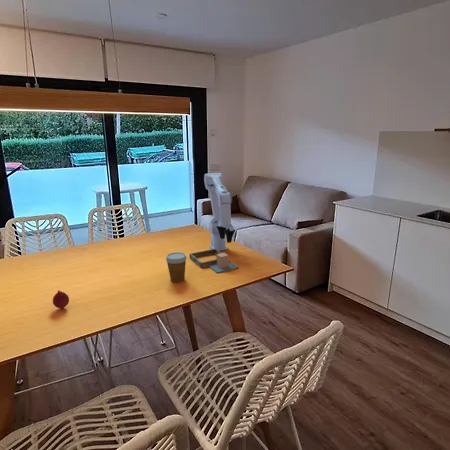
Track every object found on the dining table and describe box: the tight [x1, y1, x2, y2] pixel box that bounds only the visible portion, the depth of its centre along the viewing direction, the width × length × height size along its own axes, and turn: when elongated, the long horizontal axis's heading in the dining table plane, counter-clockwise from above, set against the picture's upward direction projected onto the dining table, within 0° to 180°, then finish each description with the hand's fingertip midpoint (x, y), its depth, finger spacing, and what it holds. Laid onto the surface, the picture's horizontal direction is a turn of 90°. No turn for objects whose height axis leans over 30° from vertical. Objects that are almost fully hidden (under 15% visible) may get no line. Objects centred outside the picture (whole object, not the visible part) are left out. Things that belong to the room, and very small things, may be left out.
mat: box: [208, 261, 239, 274], centre depth 172 cm, size 10×12×1 cm
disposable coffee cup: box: [165, 251, 188, 283], centre depth 157 cm, size 10×10×12 cm
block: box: [216, 252, 230, 268], centre depth 171 cm, size 4×4×6 cm
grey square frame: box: [189, 248, 222, 269], centre depth 182 cm, size 16×16×2 cm
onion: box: [52, 289, 70, 310], centre depth 134 cm, size 6×6×8 cm
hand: (225, 240), depth 183 cm, fingers open, 7 cm apart
